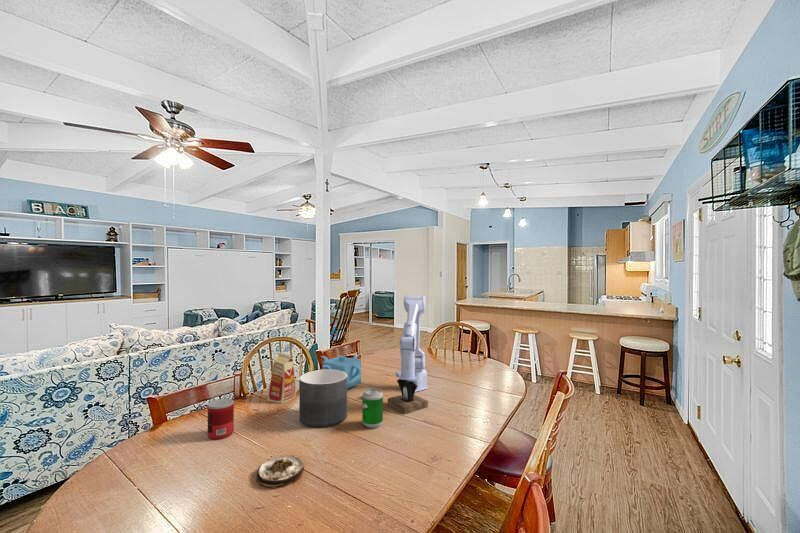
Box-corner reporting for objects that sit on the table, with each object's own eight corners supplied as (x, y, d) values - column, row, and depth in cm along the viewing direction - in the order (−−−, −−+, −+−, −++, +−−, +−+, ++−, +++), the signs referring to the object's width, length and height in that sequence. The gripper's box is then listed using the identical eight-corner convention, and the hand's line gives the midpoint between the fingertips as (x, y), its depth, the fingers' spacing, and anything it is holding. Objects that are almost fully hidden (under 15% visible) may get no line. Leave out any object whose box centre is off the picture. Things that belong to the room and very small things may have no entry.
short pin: (371, 396, 156) (371, 387, 156) (376, 398, 154) (376, 389, 154) (365, 398, 154) (365, 388, 154) (369, 400, 152) (369, 391, 152)
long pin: (408, 401, 148) (408, 384, 148) (412, 403, 145) (412, 387, 145) (401, 403, 146) (401, 386, 146) (406, 405, 143) (406, 388, 143)
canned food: (238, 431, 123) (238, 399, 123) (220, 442, 115) (220, 408, 115) (221, 427, 125) (221, 397, 125) (202, 438, 118) (202, 405, 118)
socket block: (409, 398, 154) (409, 392, 154) (428, 406, 145) (428, 400, 145) (387, 404, 147) (387, 398, 147) (405, 414, 138) (405, 407, 138)
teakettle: (363, 392, 161) (363, 360, 161) (321, 395, 157) (321, 362, 157) (358, 379, 179) (358, 350, 179) (320, 382, 175) (321, 352, 175)
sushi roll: (249, 498, 88) (249, 481, 88) (254, 465, 102) (254, 451, 102) (310, 487, 93) (310, 471, 93) (306, 457, 107) (306, 443, 107)
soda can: (384, 420, 132) (384, 388, 132) (381, 429, 124) (381, 395, 124) (364, 419, 133) (364, 387, 133) (360, 428, 125) (360, 394, 125)
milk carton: (267, 400, 150) (267, 354, 150) (282, 393, 159) (282, 349, 159) (284, 404, 147) (284, 356, 147) (298, 396, 155) (298, 351, 155)
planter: (290, 417, 134) (290, 376, 134) (328, 404, 147) (329, 366, 147) (316, 433, 122) (317, 387, 122) (356, 417, 135) (356, 376, 135)
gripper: (389, 362, 149) (389, 394, 149) (411, 371, 138) (411, 405, 138) (403, 360, 154) (402, 391, 154) (424, 368, 142) (424, 401, 142)
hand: (407, 397), depth 146 cm, fingers closed on long pin, 3 cm apart
